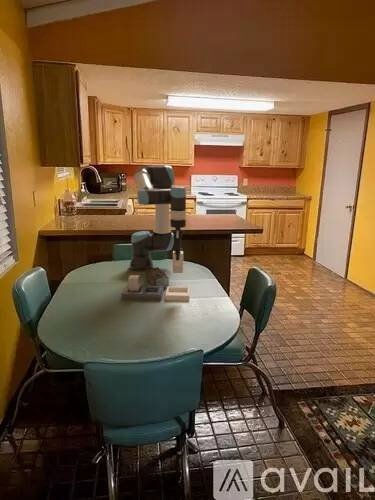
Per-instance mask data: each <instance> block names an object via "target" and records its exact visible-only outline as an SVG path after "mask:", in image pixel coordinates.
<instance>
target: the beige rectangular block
mask: <svg viewBox="0 0 375 500" xmlns="http://www.w3.org/2000/svg"><path fill="white" fill-rule="evenodd" d="M140 276H141V275H139V274H135V275H134V274H129V276H128V285H129V292H140V285H141V277H140Z"/></svg>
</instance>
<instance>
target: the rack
mask: <svg viewBox="0 0 375 500" xmlns="http://www.w3.org/2000/svg"><path fill="white" fill-rule="evenodd" d="M164 289H165V287H164V286H153V285H141V284H140V292H129V284H128V285H127V284H125V287H124V289H123V290H122V292H121V300H134V301H135V300H139V301H140V300H142V301H143V300H144V301H145V300H146V301H162V299H163V296H164V291H165V290H164Z"/></svg>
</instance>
